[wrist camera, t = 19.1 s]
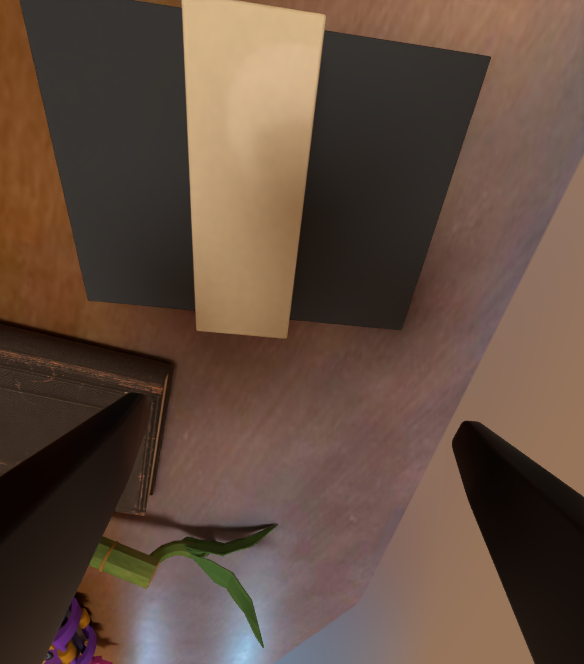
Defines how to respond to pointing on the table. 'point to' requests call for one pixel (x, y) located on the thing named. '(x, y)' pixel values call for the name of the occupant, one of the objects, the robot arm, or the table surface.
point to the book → (74, 639)
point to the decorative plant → (144, 566)
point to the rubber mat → (323, 167)
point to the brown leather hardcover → (75, 399)
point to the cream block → (248, 156)
